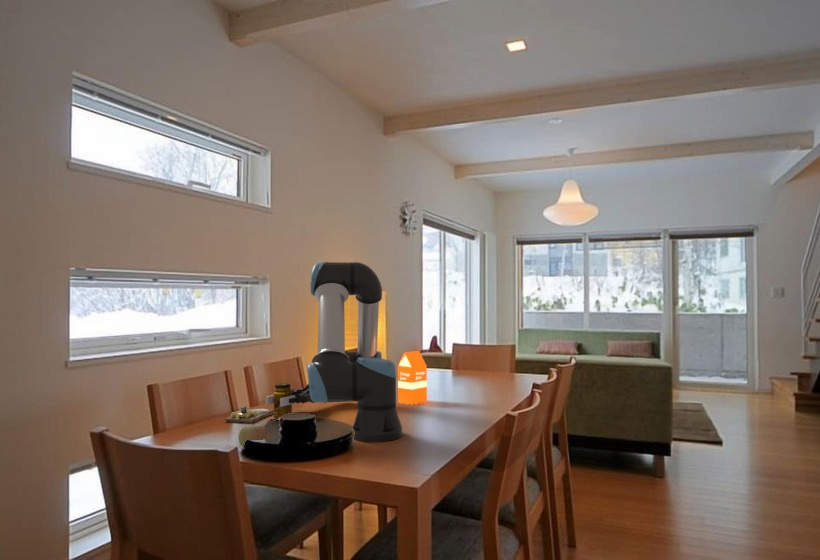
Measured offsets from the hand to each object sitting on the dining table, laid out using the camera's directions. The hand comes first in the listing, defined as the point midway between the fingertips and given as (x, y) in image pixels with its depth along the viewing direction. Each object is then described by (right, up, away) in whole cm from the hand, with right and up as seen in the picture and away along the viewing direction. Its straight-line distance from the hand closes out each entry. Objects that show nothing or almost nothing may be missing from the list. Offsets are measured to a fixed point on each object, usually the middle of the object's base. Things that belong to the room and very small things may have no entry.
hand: (273, 401), depth 185 cm
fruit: (+3, -6, -34) cm, 34 cm away
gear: (-11, -6, +3) cm, 13 cm away
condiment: (+3, -7, +4) cm, 9 cm away
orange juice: (+47, -7, +31) cm, 57 cm away
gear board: (-10, -7, +6) cm, 13 cm away
